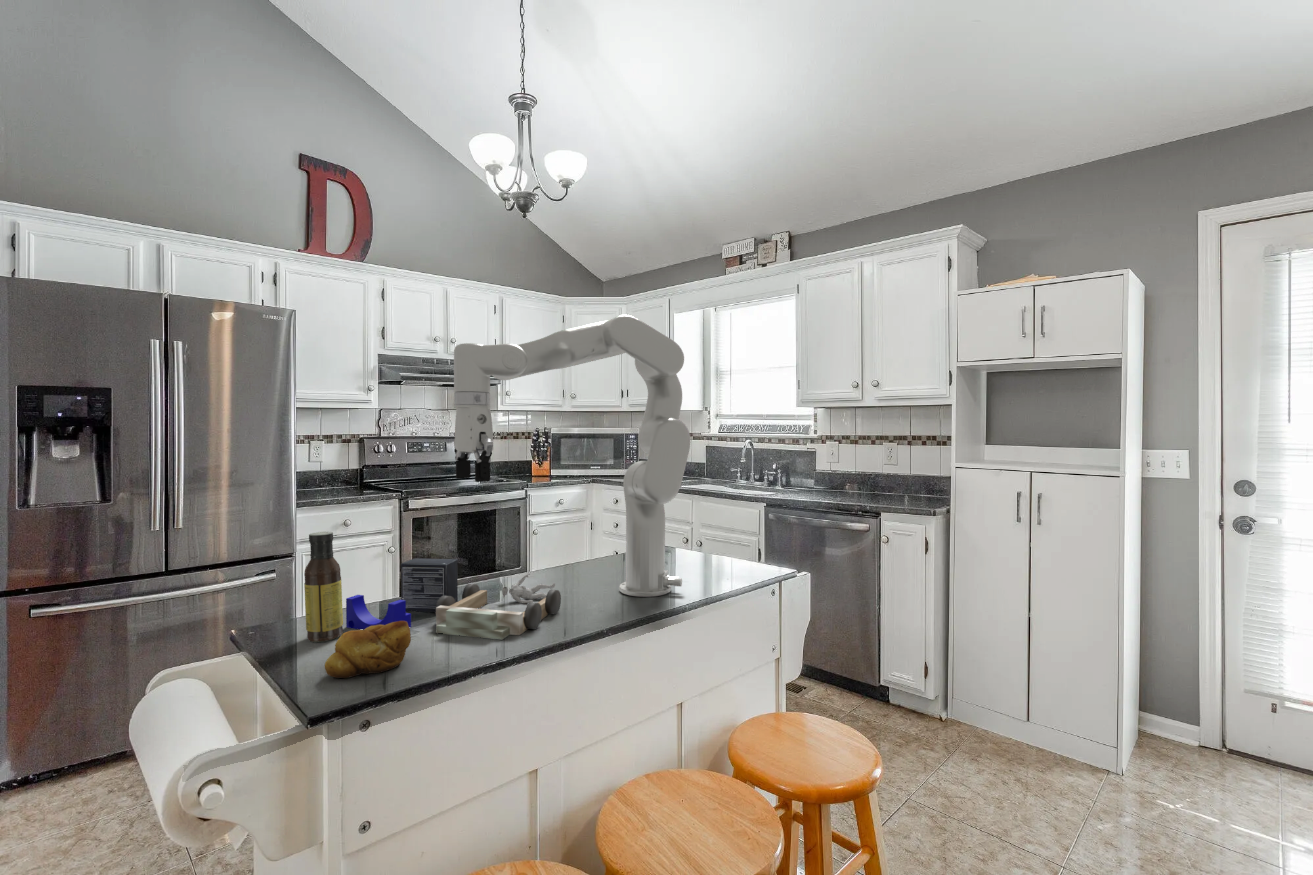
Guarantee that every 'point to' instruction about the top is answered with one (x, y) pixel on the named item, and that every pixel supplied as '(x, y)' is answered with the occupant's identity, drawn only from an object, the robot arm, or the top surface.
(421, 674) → the top surface
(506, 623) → the chassis
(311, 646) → the top surface
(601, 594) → the top surface
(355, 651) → the bread roll
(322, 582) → the sauce bottle
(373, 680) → the top surface
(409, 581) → the small box
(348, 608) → the blue cradle block
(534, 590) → the soldier figure
